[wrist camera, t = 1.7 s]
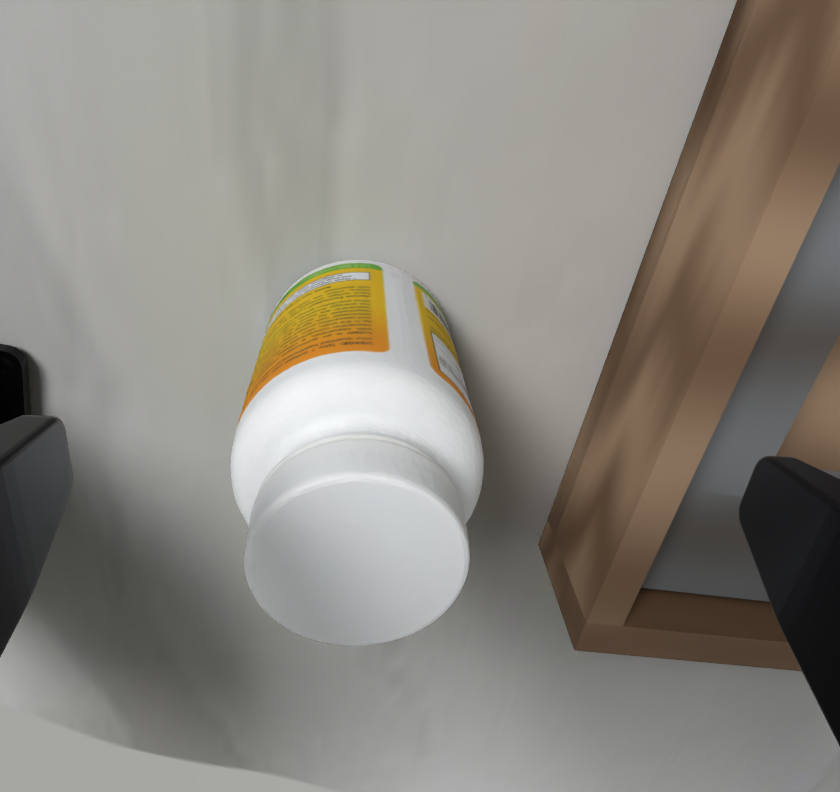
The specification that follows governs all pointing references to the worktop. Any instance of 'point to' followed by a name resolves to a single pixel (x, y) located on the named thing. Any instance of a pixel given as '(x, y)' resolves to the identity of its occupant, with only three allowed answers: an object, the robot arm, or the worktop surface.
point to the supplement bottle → (357, 459)
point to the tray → (715, 361)
